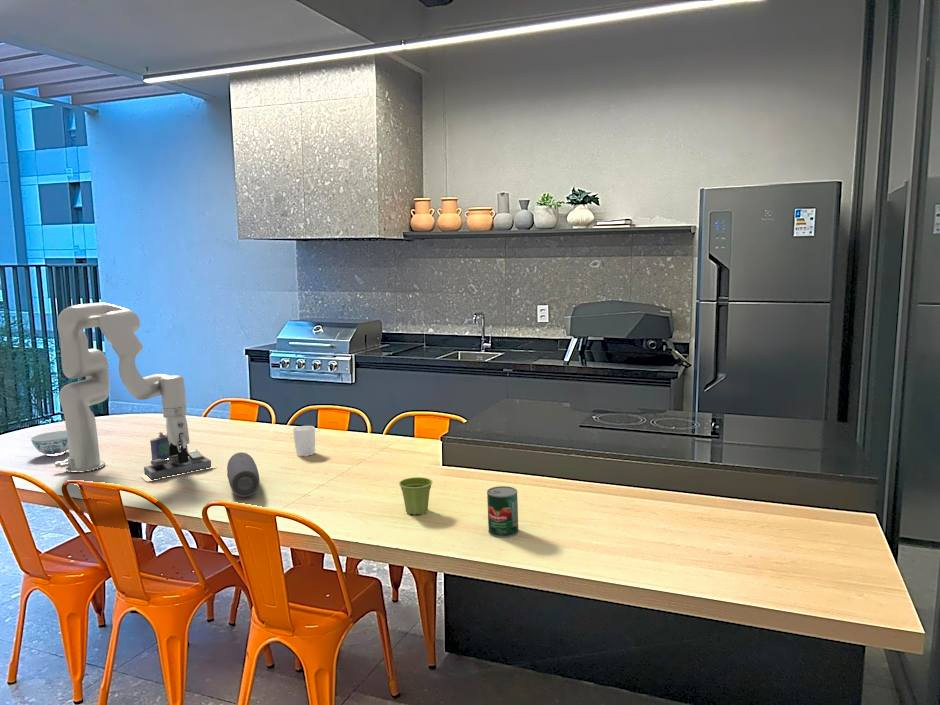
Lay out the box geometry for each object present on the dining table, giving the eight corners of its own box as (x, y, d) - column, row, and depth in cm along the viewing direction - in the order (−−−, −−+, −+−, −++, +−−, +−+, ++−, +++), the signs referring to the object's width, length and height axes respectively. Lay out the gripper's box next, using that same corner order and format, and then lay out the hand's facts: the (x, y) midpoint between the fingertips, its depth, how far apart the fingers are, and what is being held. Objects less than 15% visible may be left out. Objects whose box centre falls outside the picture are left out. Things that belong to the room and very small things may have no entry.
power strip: (147, 482, 238) (146, 472, 238) (139, 475, 247) (138, 466, 246) (216, 467, 253) (215, 458, 252) (206, 461, 261) (206, 452, 260)
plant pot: (416, 503, 209) (415, 475, 208) (440, 510, 203) (439, 480, 202) (393, 513, 202) (392, 483, 201) (417, 520, 196) (416, 489, 195)
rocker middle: (175, 463, 245) (174, 459, 245) (169, 459, 251) (168, 455, 250) (185, 461, 247) (185, 457, 247) (179, 457, 253) (179, 453, 253)
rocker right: (192, 461, 249) (192, 457, 249) (186, 454, 254) (186, 451, 254) (203, 459, 251) (203, 455, 251) (196, 452, 256) (196, 449, 256)
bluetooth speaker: (227, 481, 236) (224, 452, 235) (256, 477, 240) (253, 448, 238) (230, 503, 215) (227, 471, 214) (262, 498, 219) (259, 466, 217)
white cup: (313, 456, 263) (311, 430, 261) (292, 457, 263) (290, 431, 261) (318, 451, 270) (316, 425, 269) (298, 451, 271) (296, 425, 269)
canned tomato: (517, 525, 190) (516, 485, 188) (520, 536, 182) (519, 495, 181) (487, 526, 190) (486, 486, 188) (489, 538, 182) (487, 496, 180)
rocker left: (156, 465, 242) (156, 461, 242) (151, 464, 247) (150, 460, 247) (167, 463, 244) (167, 459, 244) (162, 462, 249) (161, 458, 249)
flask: (154, 464, 260) (151, 435, 259) (150, 463, 262) (147, 434, 260) (177, 458, 268) (174, 430, 266) (172, 457, 269) (170, 429, 268)
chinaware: (63, 459, 271) (61, 439, 270) (24, 460, 271) (22, 441, 270) (85, 449, 286) (83, 430, 285) (48, 450, 286) (46, 431, 285)
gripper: (194, 413, 241) (198, 462, 243) (178, 406, 254) (182, 452, 257) (171, 417, 236) (175, 467, 239) (156, 409, 250) (160, 456, 252)
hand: (179, 459), depth 248 cm, fingers open, 9 cm apart
